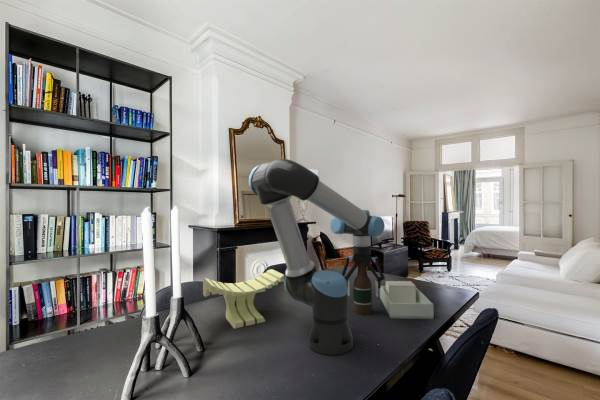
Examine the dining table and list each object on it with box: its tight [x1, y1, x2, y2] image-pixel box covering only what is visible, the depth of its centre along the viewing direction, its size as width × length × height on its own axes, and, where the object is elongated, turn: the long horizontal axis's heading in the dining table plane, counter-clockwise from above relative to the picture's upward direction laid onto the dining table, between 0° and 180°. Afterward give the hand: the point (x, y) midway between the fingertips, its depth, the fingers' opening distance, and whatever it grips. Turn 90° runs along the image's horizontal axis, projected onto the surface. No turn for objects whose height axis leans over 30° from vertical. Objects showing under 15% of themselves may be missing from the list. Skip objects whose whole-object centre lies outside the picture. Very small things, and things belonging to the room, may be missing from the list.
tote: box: [379, 285, 435, 320], centre depth 132 cm, size 17×26×6 cm, turn 174°
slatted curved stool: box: [202, 268, 285, 330], centre depth 123 cm, size 30×16×18 cm, turn 119°
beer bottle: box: [352, 257, 373, 316], centre depth 127 cm, size 8×8×24 cm
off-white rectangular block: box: [385, 280, 417, 303], centre depth 139 cm, size 12×8×8 cm, turn 84°
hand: (362, 295), depth 127 cm, fingers open, 11 cm apart
